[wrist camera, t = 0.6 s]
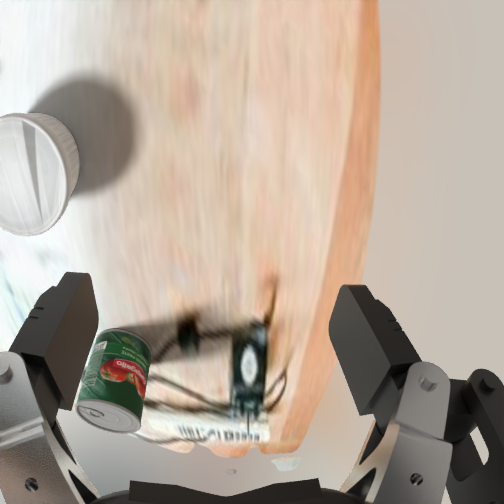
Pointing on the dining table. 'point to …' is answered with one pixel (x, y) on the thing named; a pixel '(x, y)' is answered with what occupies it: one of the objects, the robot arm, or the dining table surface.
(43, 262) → the dining table surface
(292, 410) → the dining table surface
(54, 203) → the ramekin
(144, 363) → the canned tomato
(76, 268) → the dining table surface
